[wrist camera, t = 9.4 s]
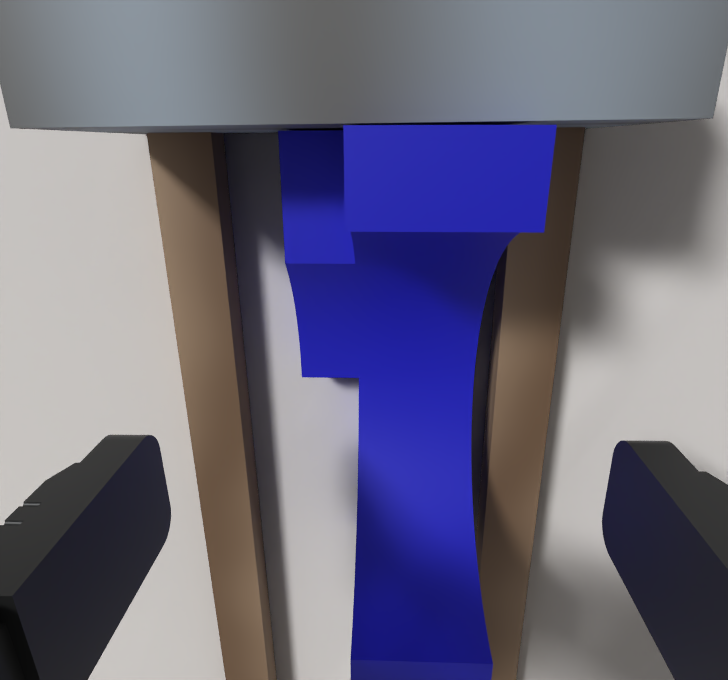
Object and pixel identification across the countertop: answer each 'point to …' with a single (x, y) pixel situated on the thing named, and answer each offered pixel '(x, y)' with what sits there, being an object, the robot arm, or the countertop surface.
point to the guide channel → (330, 112)
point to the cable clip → (409, 355)
